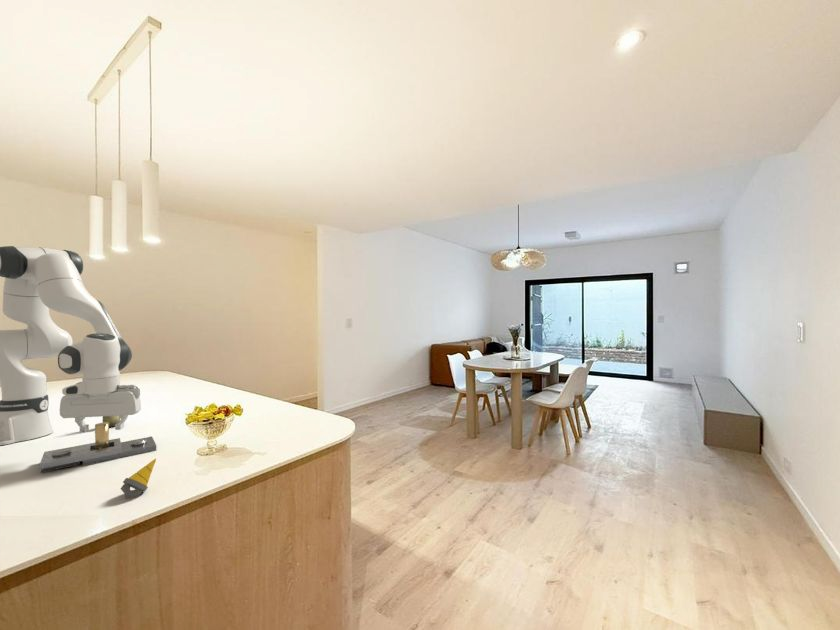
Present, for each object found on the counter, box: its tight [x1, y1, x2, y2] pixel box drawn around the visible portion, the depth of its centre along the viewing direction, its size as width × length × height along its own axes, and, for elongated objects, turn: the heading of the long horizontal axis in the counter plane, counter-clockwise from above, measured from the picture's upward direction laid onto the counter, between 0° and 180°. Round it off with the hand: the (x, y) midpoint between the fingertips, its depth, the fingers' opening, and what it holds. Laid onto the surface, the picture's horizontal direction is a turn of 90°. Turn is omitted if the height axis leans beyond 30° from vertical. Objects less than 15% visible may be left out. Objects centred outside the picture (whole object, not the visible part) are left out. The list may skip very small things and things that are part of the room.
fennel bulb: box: [102, 416, 121, 428], centre depth 142 cm, size 6×5×12 cm
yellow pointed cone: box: [120, 458, 157, 500], centre depth 89 cm, size 5×5×10 cm
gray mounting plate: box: [39, 436, 157, 473], centre depth 112 cm, size 26×12×4 cm, turn 132°
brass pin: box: [94, 421, 110, 450], centre depth 112 cm, size 3×3×10 cm
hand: (102, 430), depth 113 cm, fingers open, 8 cm apart
